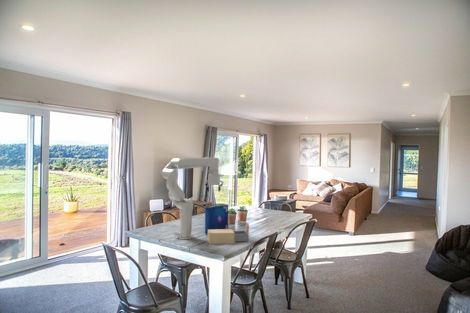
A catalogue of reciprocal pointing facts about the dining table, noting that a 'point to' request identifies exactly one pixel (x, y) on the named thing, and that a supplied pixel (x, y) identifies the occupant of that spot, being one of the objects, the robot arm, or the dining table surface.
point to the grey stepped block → (242, 234)
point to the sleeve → (220, 236)
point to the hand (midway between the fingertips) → (213, 191)
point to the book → (216, 217)
